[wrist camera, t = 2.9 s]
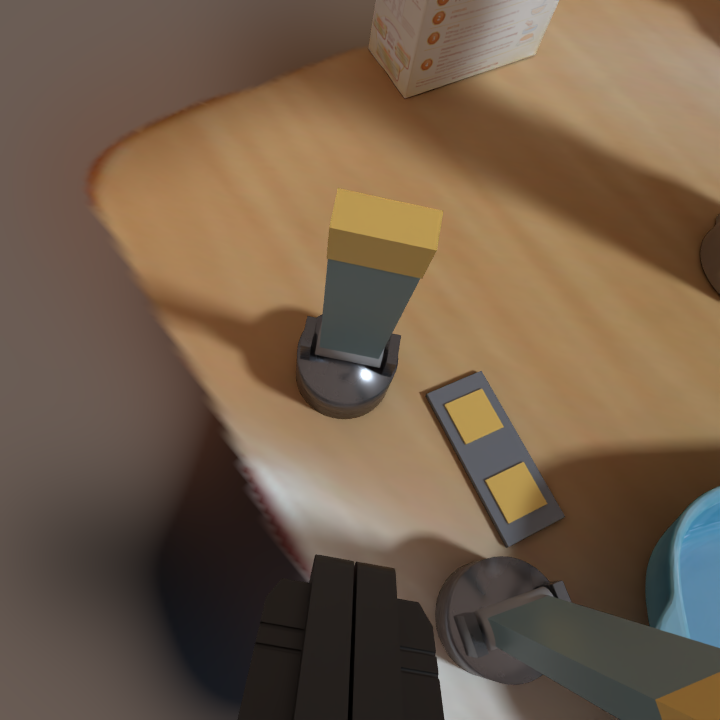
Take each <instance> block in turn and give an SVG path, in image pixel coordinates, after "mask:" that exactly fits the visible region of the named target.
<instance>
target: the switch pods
mask: <svg viewBox="0 0 720 720" xmlns="http://www.w3.org/2000/svg"><path fill="white" fill-rule="evenodd" d="M322 316H323V314H322V315H320V316H318V317H317V318H315V317H310V316H307V321H306V325H305V329H304V331H303V333H302V335H301V337H300V340H299V344H298V350H297V366H296V380H297V385H298V388H299V391H300V393H301V395H302V396H303V398H304V399H305V401H306V402H307V403H308V404H309V405H310V406H311V407H312V408H313V409H315V410H316V411H318V412H319V413H321V414H323V415H326V416H329V417H332V418H337V419H352V418H357V417H360V416H363V415H365V414H367V413H369V412H370V411H372V410H373V409H374V408H375V407H376V406H378V404H379V403H380V402H381V401H382V399H383V398H384V396H385V394H386V392H387V389H388V387H389V385H390V383H391V381H392V379H393V377H394V374H395V372H396V369H397V364H398V352H399V345H400V339H401V335H397V334H391V336H390V338H389V340H388V342H387V344H386V346H385V348H384V353H383V357H382V361H381V365H380V367H379V368H378V367H373V366H368V365H364V364H359V363H354V362H349V361H344V360H339V359H334V358H329V357H324V356H319V355H315V350H316V345H317V340H318V335H319V330H320V326H321V323H322ZM540 587H546V588H547V589H548V590H549V591H550V592H551V593H552V595H553V596H554V597H555V598H558V599H562V600H565V601H568V602H571V600H570V597H569V595H568V593H567V590H566V588H565V585H564V583H563V581H555V582H549V581H548V580H547V578H546V577H545V576H544V575H543V574H542V573H541V572H540V571H538V570H537V569H536V568H535V567H533V566H532V565H530V564H528V563H526V562H524V561H522V560H519V559H516V558H512V557H503V556H499V557H492V558H488V559H484V560H481V561H477V562H474V563H470V564H467V565H465V566H462V567H461V568H459V569H457V570H456V571H455V572H454V573H452V574H451V575H450V577H449V578H448V579H447V580H446V582H445V583H444V584H443V586H442V588H441V590H440V593H439V596H438V599H437V603H436V612H435V616H436V627H437V631H438V635H439V638H440V640H441V643H442V645H443V647H444V648H445V650H446V652H447V653H448V655H449V656H450V657H451V658H452V659H453V661H454V662H455V663H456V664H458V665H459V666H460V667H461V668H463V669H464V670H466V671H467V672H469V673H471V674H473V675H476V676H479V677H483V678H486V679H489V680H493V681H496V682H499V683H503V684H514V685H517V684H524V683H527V682H531V681H533V680H535V679H537V678H539V677H540V676H542V675H543V674H542V673H540V672H538V671H536V670H535V669H533V668H531V667H530V666H528V665H526V664H525V663H523V662H521V661H519V660H518V659H516V658H514V657H513V656H511V655H509V654H508V653H506V652H504V651H502V650H501V649H499V648H497V649H495V650H492V651H488V650H487V647H486V644H485V642H484V639H483V636H482V633H481V630H480V627H479V625H478V622H477V619H476V616H475V613H474V611H476V610H478V609H481V608H484V607H487V606H490V605H492V604H495V603H498V602H501V601H503V600H506V599H509V598H512V597H515V596H517V595H520V594H523V593H526V592H528V591H531V590H534V589H537V588H540ZM571 603H572V602H571Z"/></svg>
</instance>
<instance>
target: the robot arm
mask: <svg viewBox="0 0 720 720" xmlns="http://www.w3.org/2000/svg"><path fill="white" fill-rule="evenodd" d="M701 262H702V266H703V270H704V272H705V274H706V276H707V278H708V280H709V281H710V283H711V284H712V286H713V287H714V288H715V290H716V291H717V292H718V293H719V294H720V214H719V215H718V216H716V226H715V227H714V228H713V229H712V230H710V231H709V232H708V233H707V235H706V236H705V238H704V239H703V242H702V245H701ZM435 653H436V650H435V642H434V634H433V626H432V625H431V623H430V621H429V619H428V618H427V616H426V614H425V613H424V611H423V609H422V607H421V606H420V604H419V602H413V601H407V600H402V599H397V589H396V573H395V569H394V568H389V567H383V566H378V565H372V564H367V563H361V562H356V563H355V565H354V561H350V560H344V559H339V558H333V557H328V556H322V555H317V554H316V555H315V558H314V563H313V567H312V572H311V576H310V581H309V583H306V582H301V581H295V580H289V579H284V578H282V579H281V581H280V582H279V583H278V584H277V585H276V586H275V587H274V589H273V590H272V591H271V592H270V593H269V594H268V595H267V597H266V600H265V604H264V608H263V613H262V617H261V622H260V626H259V630H258V634H257V639H256V643H255V647H254V651H253V656H252V660H251V665H250V669H249V673H248V677H247V682H246V686H245V690H244V695H243V699H242V703H241V707H240V712H239V716H238V720H444V713H443V705H442V697H441V690H440V682H439V679H438V666H437V658H436V657H435Z"/></svg>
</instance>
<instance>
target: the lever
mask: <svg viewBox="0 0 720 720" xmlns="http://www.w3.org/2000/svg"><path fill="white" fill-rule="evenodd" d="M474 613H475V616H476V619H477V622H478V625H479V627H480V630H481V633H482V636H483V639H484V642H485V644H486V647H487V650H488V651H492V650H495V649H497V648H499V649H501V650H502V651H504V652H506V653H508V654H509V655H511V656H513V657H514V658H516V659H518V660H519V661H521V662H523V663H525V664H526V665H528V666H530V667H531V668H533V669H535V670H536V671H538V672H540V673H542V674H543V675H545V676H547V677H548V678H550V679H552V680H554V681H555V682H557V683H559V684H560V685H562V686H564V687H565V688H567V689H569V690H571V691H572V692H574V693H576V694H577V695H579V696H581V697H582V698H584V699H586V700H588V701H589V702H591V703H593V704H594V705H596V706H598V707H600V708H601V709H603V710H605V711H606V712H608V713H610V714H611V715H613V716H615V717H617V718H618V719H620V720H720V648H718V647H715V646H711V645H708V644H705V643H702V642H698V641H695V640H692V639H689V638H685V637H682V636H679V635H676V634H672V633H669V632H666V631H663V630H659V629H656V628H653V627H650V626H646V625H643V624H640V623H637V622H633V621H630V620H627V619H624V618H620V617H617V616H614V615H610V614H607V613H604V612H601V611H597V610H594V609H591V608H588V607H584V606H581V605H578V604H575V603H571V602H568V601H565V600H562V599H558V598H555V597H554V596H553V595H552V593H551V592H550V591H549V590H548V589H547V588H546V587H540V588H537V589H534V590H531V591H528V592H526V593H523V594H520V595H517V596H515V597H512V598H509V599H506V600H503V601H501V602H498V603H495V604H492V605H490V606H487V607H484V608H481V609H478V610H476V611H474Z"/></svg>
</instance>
